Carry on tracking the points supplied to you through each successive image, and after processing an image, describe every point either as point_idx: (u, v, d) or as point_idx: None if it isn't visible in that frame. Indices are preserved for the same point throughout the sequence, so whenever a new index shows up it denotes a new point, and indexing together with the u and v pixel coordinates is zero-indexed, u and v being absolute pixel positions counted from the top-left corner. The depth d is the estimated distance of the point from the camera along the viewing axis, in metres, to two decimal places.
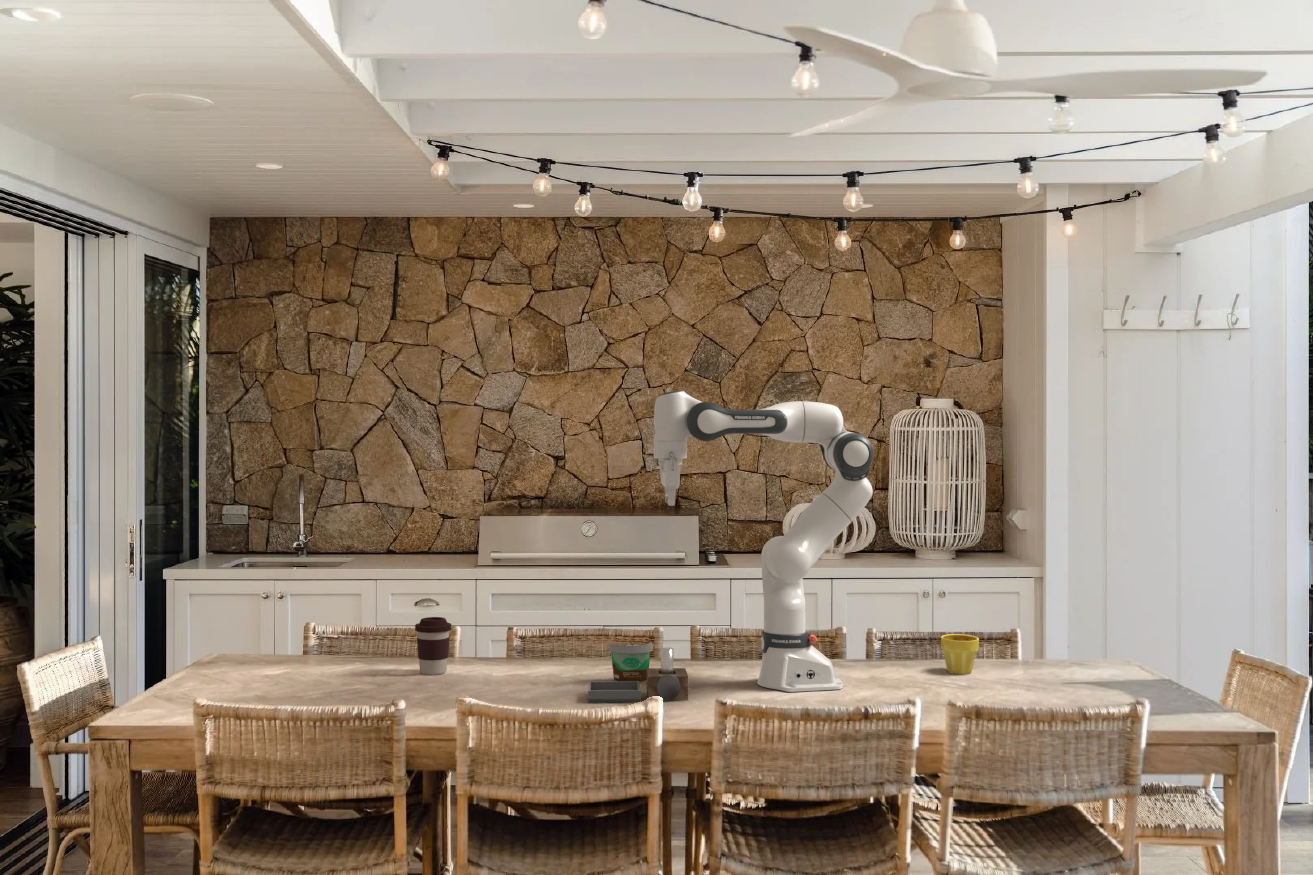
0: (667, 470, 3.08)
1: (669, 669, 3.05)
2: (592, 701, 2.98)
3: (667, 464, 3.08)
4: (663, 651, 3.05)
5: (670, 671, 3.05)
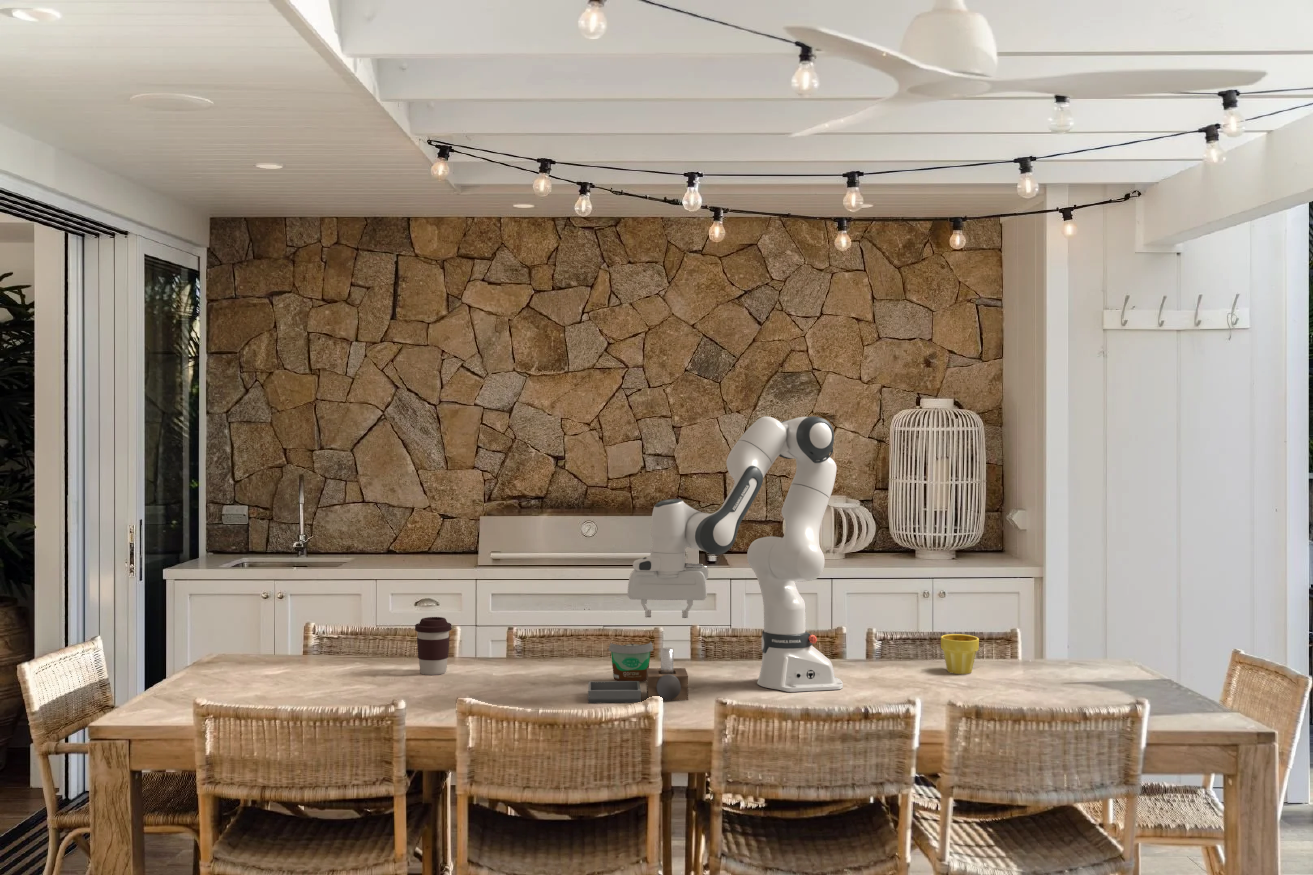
0: (705, 581, 3.05)
1: (669, 668, 3.05)
2: (592, 701, 2.98)
3: (704, 575, 3.05)
4: (663, 651, 3.05)
5: (670, 671, 3.05)
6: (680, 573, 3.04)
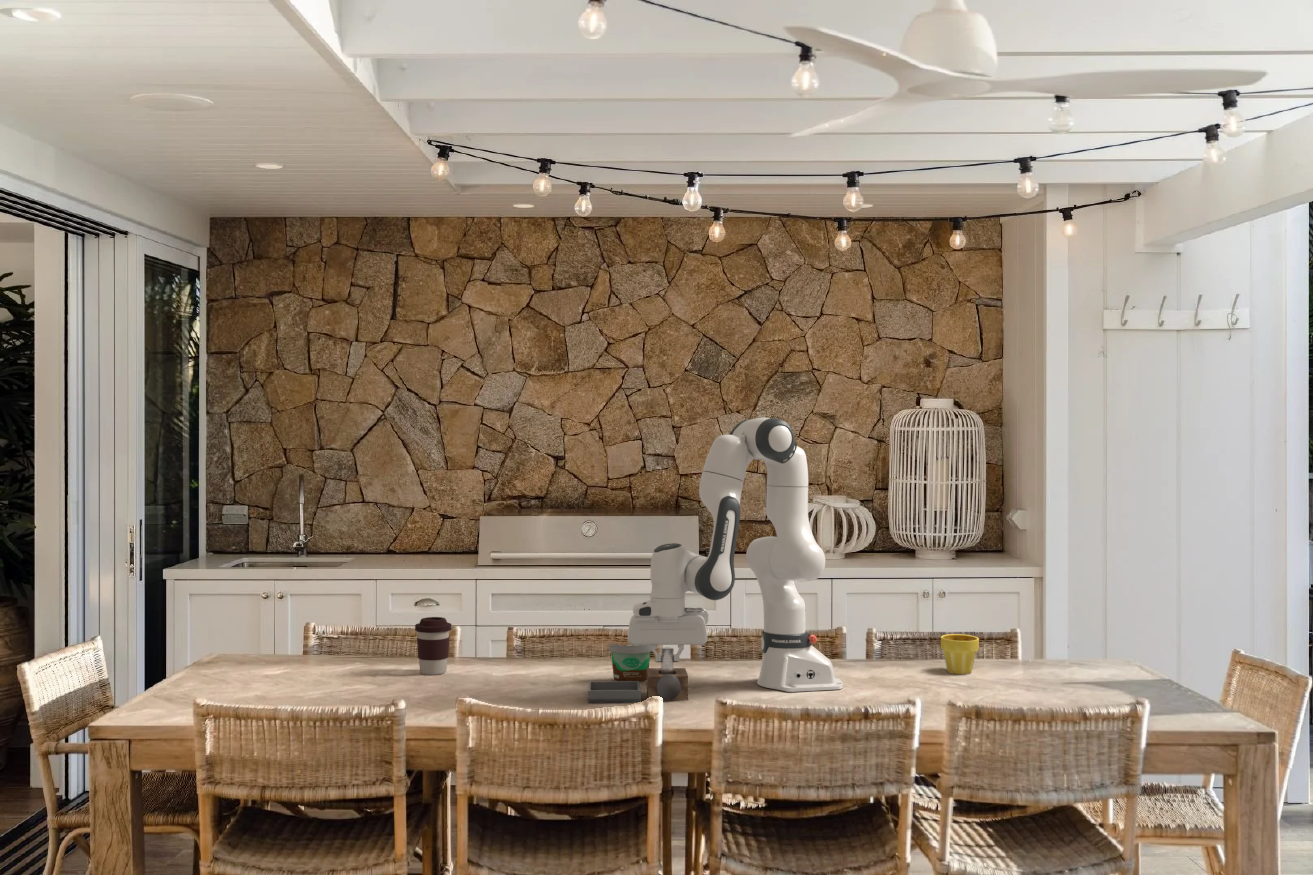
0: (705, 626, 3.05)
1: (669, 668, 3.05)
2: (592, 701, 2.98)
3: (704, 620, 3.05)
4: (663, 651, 3.05)
5: (670, 671, 3.05)
6: (680, 618, 3.04)
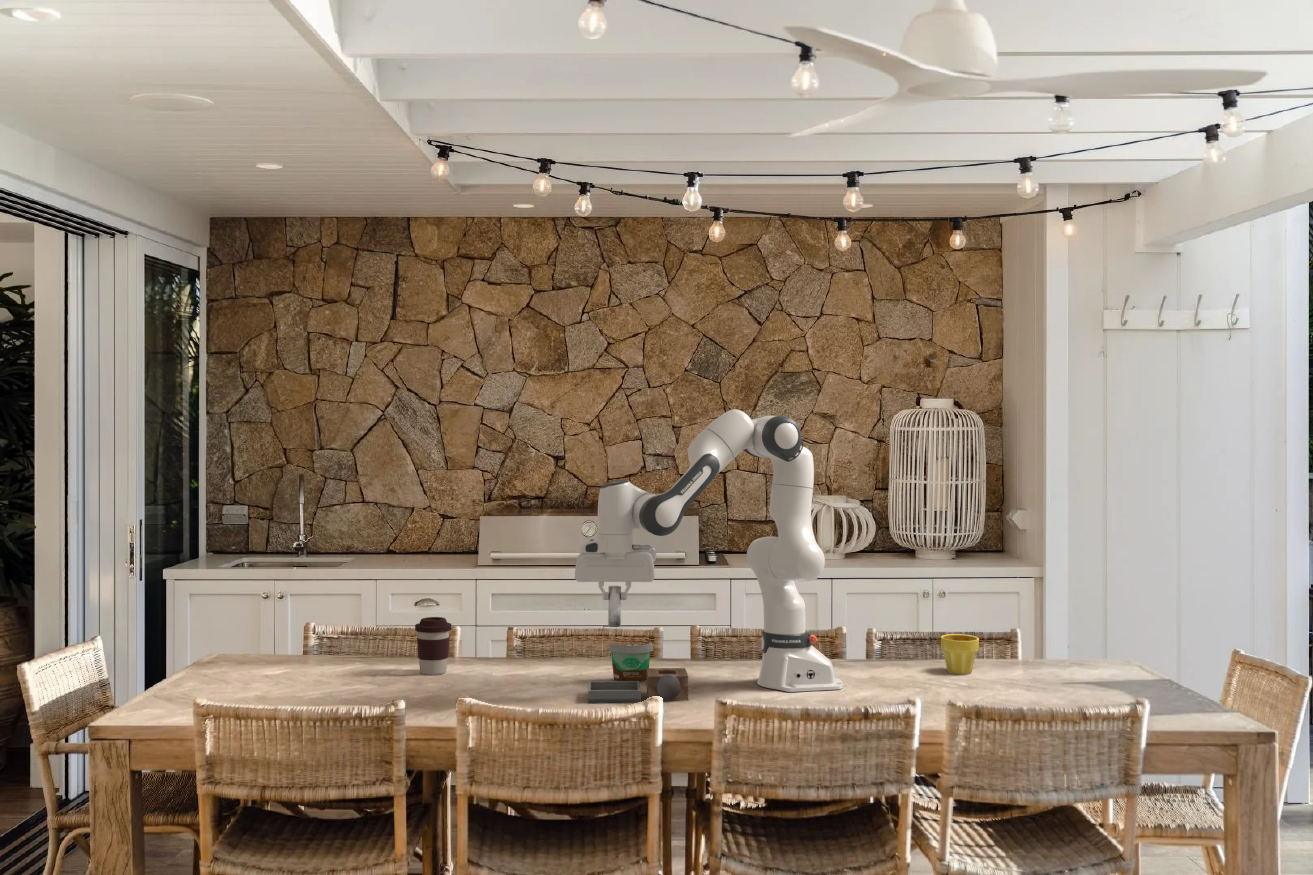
0: (653, 563, 3.02)
1: (617, 606, 3.02)
2: (592, 701, 2.98)
3: (651, 557, 3.02)
4: (610, 588, 3.02)
5: (617, 609, 3.02)
6: (627, 555, 3.02)
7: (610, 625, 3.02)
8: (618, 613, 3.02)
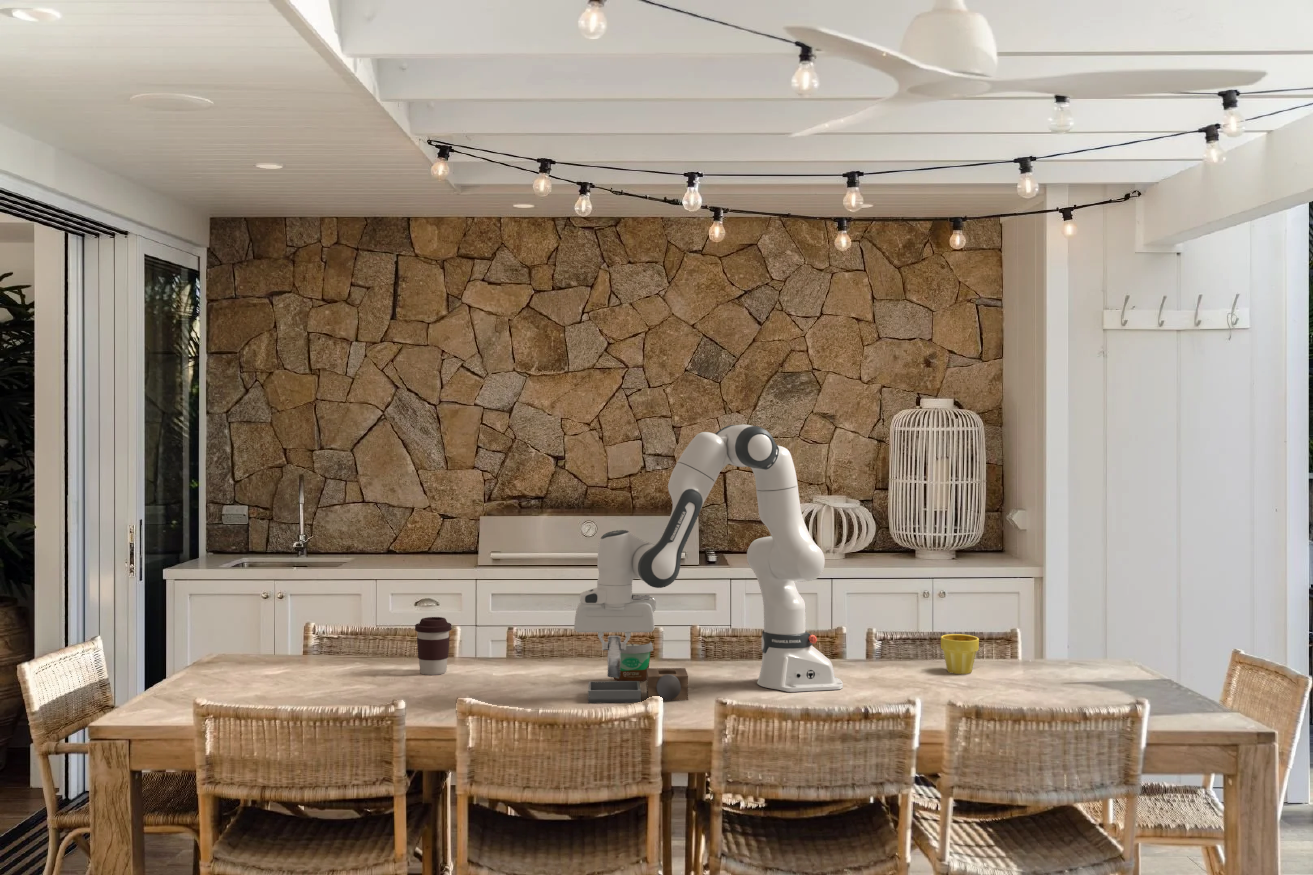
0: (652, 613, 3.02)
1: (616, 656, 3.02)
2: (592, 701, 2.98)
3: (651, 607, 3.02)
4: (610, 639, 3.02)
5: (616, 659, 3.02)
6: (627, 605, 3.02)
7: (609, 675, 3.02)
8: (617, 663, 3.02)
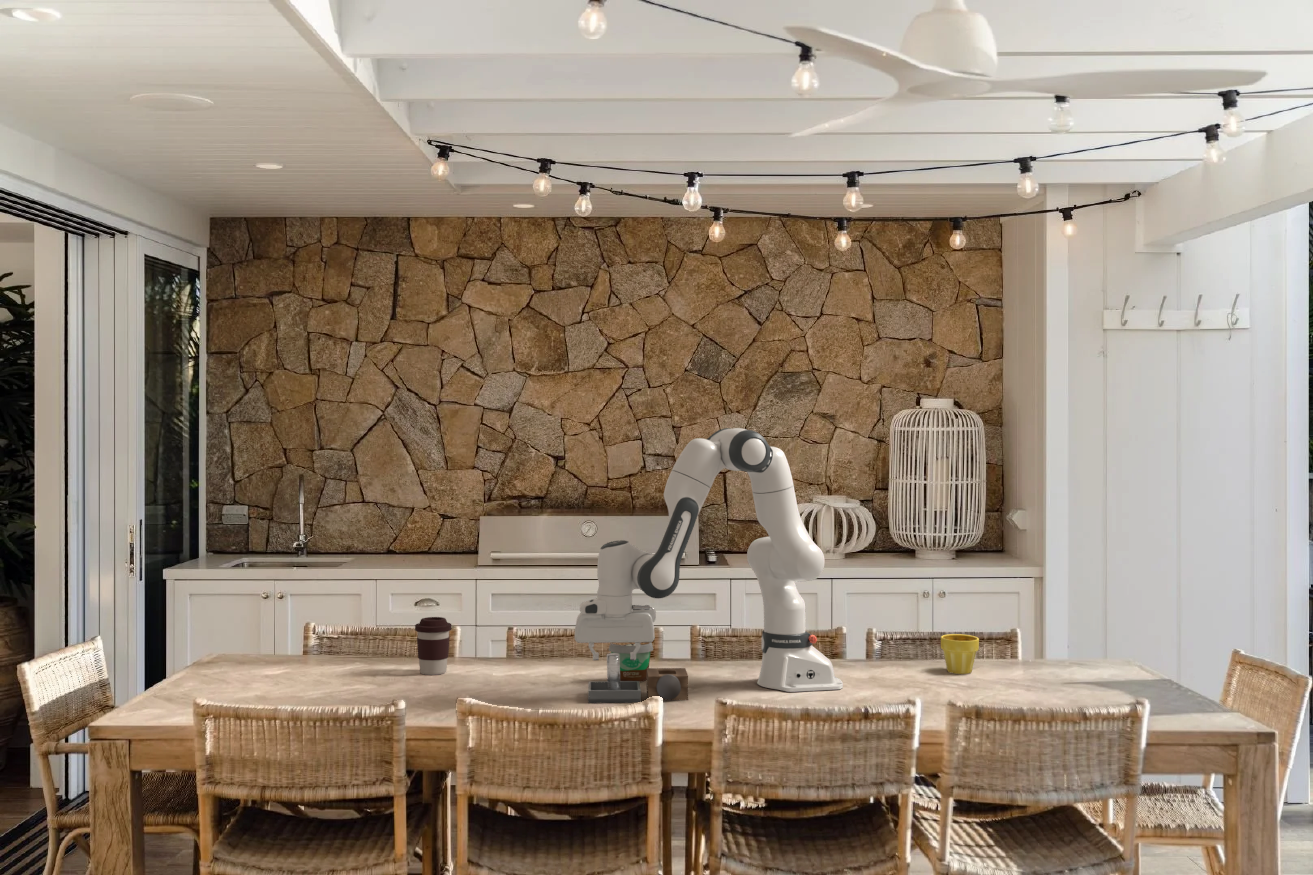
0: None
1: (615, 675, 3.02)
2: (592, 701, 2.98)
3: (651, 617, 3.03)
4: (608, 657, 3.02)
5: (616, 677, 3.02)
6: (627, 615, 3.02)
7: None
8: (617, 681, 3.02)
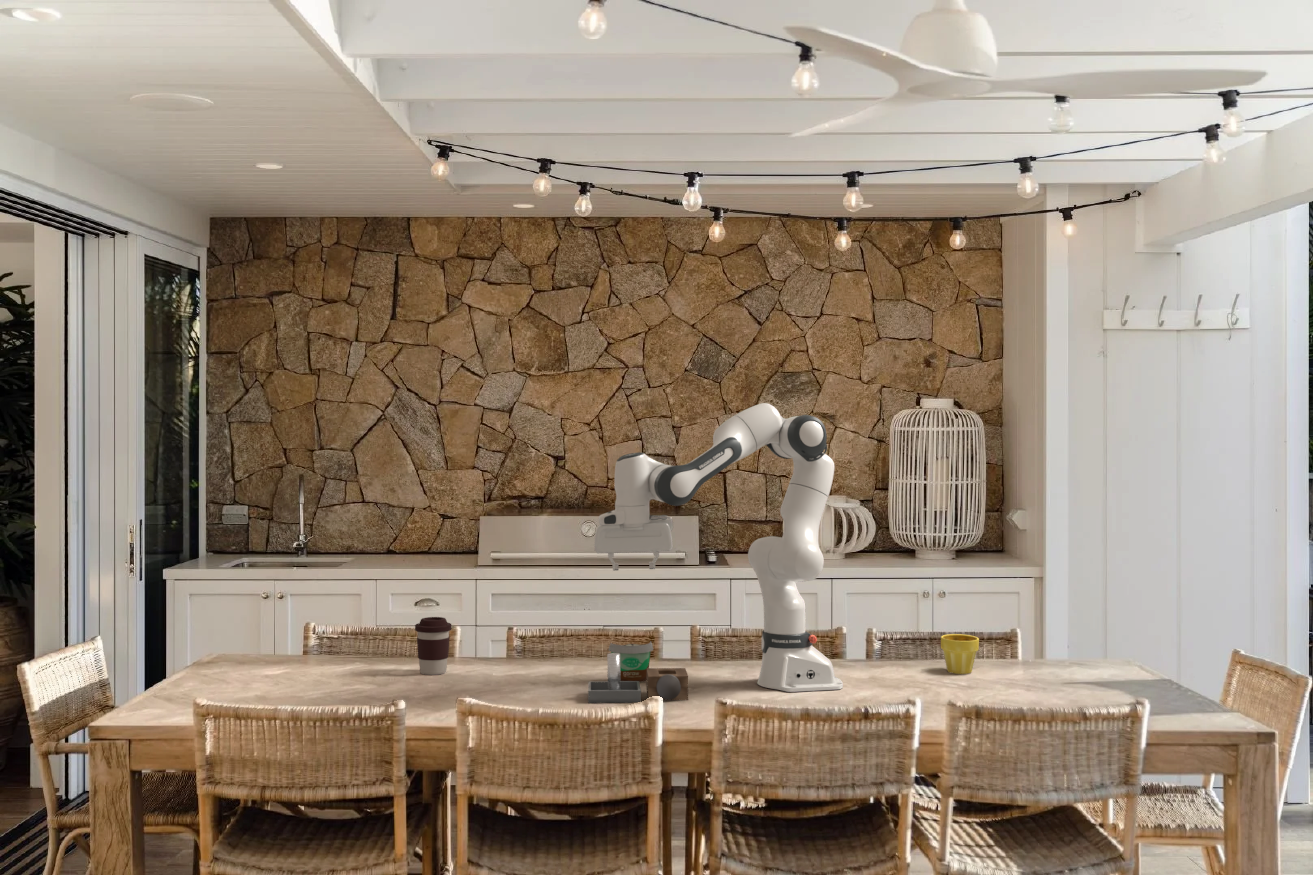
0: (670, 532, 3.09)
1: (616, 674, 3.02)
2: (592, 701, 2.98)
3: (669, 526, 3.09)
4: (609, 657, 3.02)
5: (616, 677, 3.02)
6: (645, 525, 3.08)
7: None
8: (618, 681, 3.02)
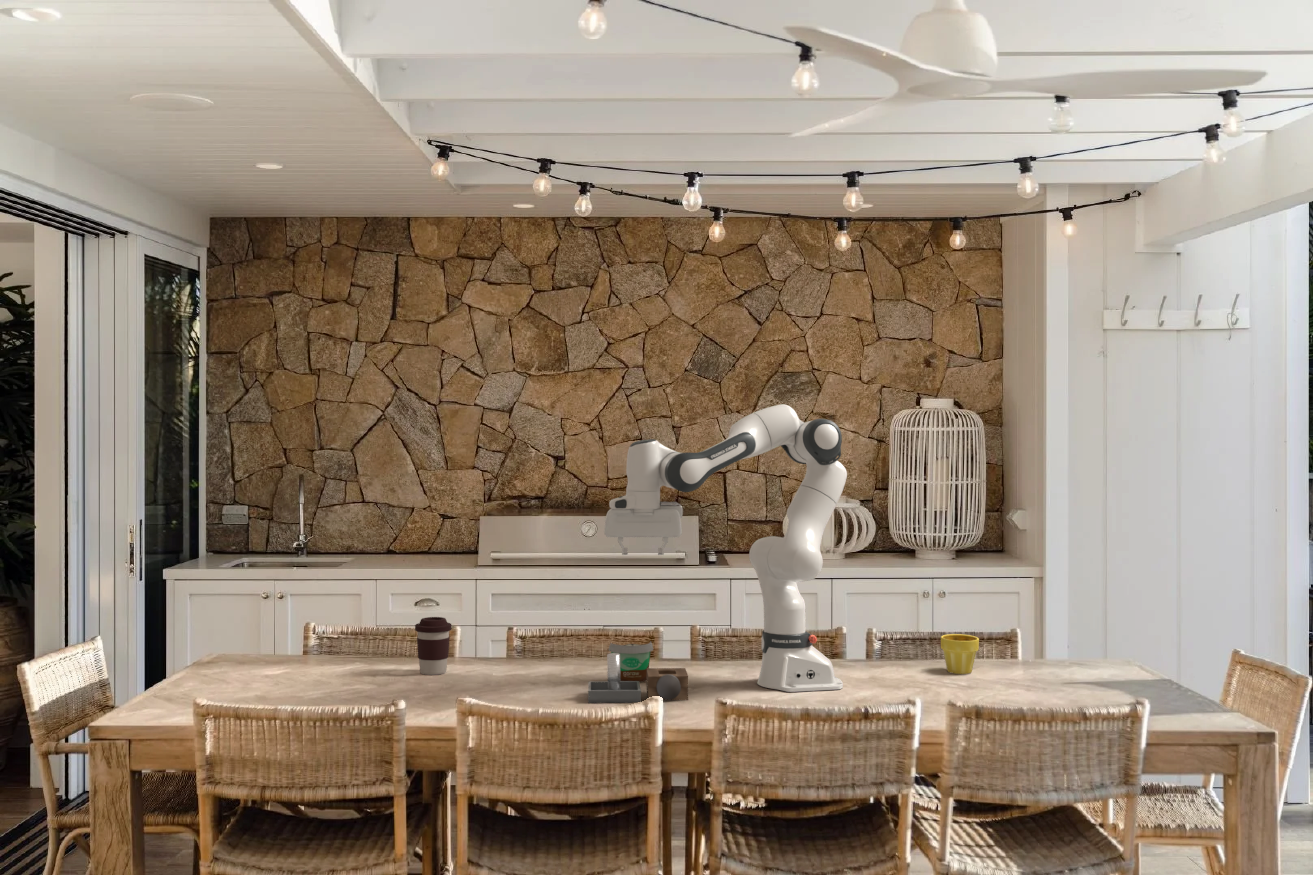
0: None
1: (616, 674, 3.02)
2: (592, 701, 2.98)
3: (678, 513, 3.13)
4: (609, 657, 3.02)
5: (616, 677, 3.02)
6: (655, 511, 3.12)
7: None
8: (618, 681, 3.02)
